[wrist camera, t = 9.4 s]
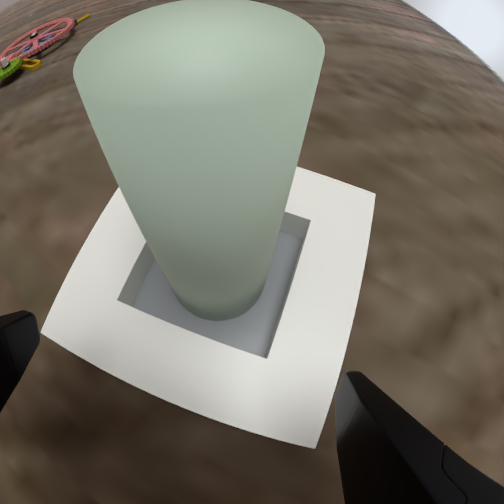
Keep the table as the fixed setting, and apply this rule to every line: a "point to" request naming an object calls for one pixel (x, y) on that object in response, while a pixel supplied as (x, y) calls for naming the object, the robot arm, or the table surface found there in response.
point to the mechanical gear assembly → (33, 46)
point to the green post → (204, 136)
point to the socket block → (228, 331)
